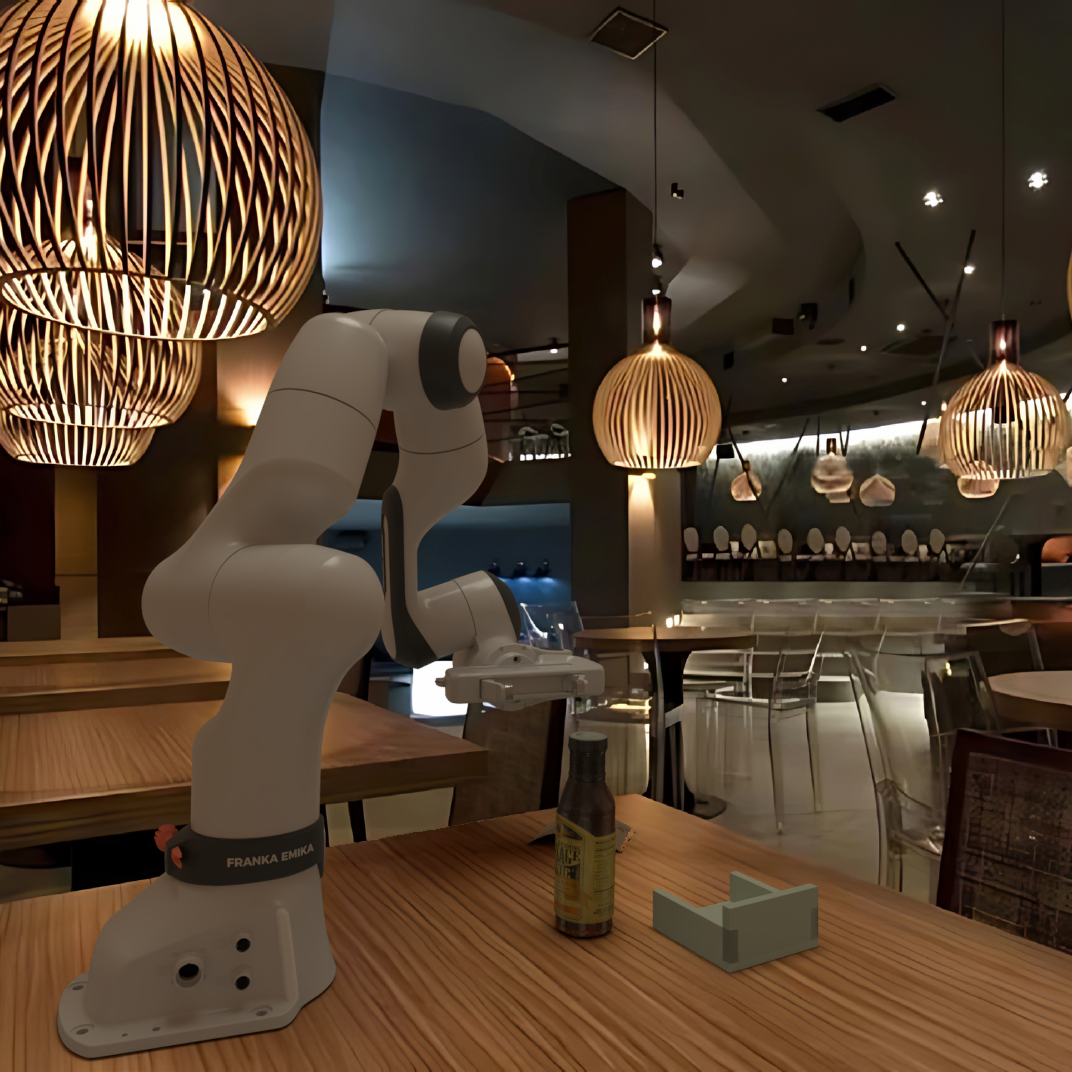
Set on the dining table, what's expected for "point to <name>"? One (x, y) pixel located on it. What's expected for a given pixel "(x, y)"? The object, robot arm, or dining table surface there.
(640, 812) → the dining table surface
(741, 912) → the caddy
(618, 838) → the grey curved piece
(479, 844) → the dining table surface
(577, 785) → the sauce bottle
